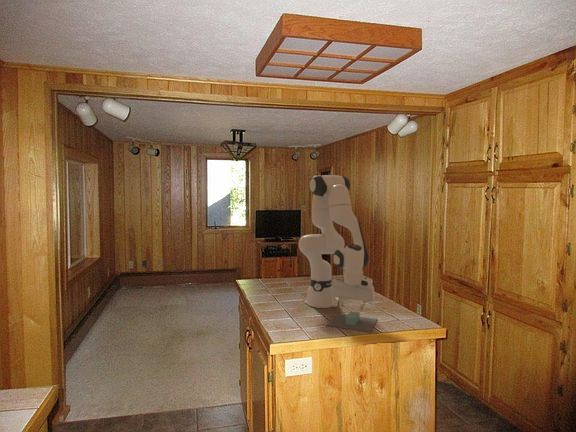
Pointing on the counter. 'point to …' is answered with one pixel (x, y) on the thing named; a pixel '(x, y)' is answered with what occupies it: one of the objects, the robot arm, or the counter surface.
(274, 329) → the counter surface
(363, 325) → the mat
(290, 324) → the counter surface
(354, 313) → the teal rectangular block
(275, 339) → the counter surface
